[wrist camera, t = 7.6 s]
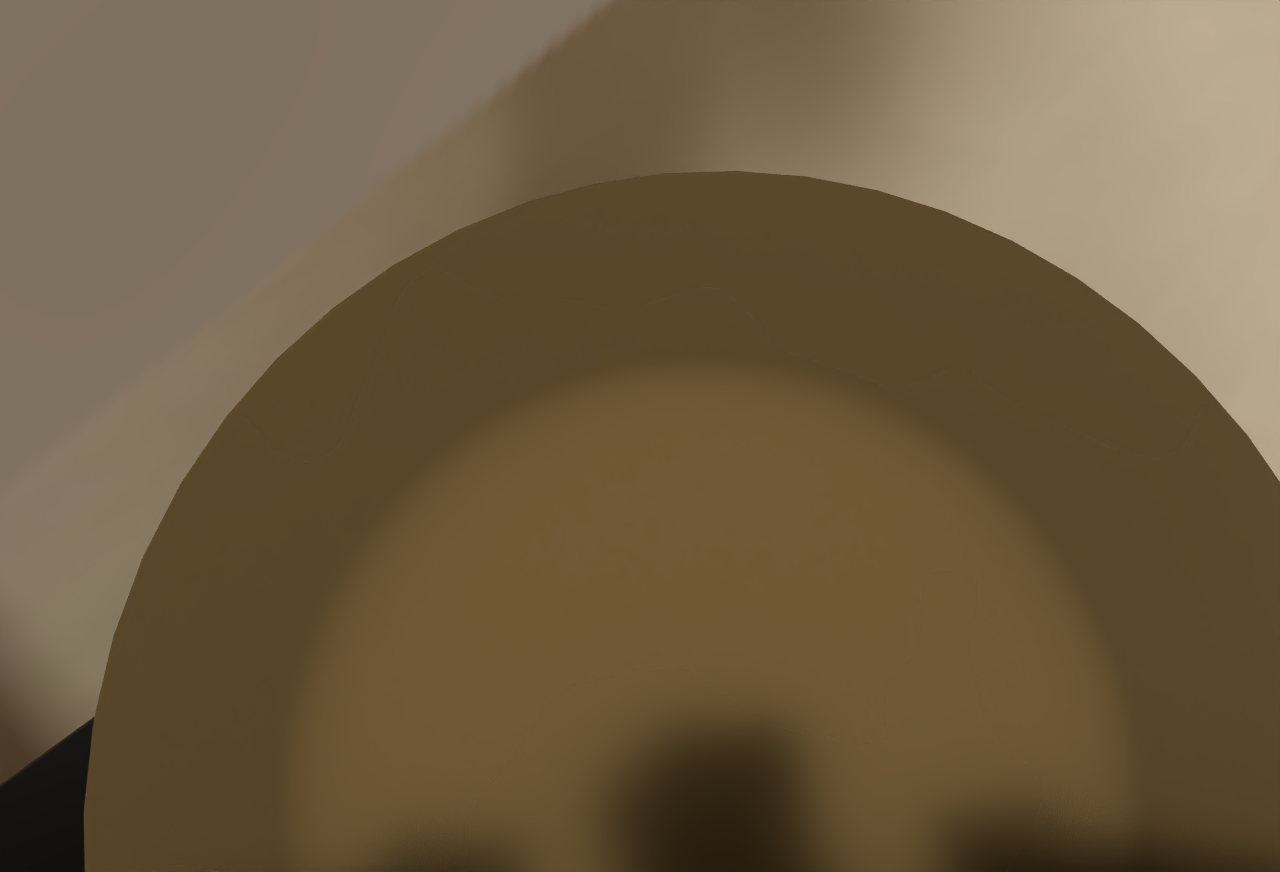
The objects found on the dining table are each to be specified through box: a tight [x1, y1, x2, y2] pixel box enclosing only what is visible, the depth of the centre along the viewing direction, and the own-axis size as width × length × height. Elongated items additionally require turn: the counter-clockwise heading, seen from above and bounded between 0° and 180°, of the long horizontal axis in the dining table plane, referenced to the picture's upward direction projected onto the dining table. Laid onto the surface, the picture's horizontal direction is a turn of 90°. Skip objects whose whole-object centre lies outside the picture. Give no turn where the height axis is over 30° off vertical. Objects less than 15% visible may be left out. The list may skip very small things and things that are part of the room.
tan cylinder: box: [84, 171, 1280, 872], centre depth 10 cm, size 6×6×11 cm
